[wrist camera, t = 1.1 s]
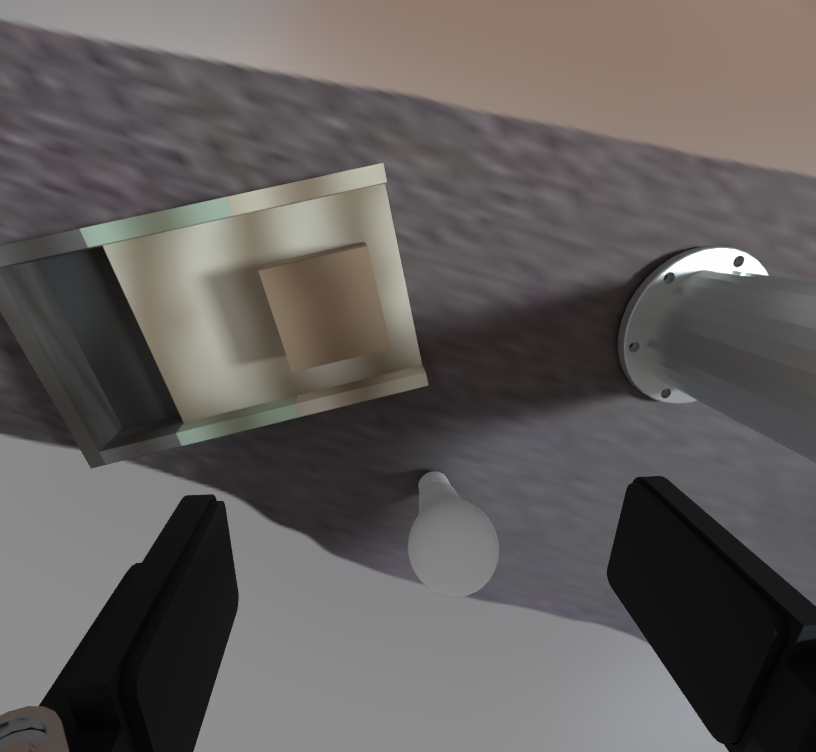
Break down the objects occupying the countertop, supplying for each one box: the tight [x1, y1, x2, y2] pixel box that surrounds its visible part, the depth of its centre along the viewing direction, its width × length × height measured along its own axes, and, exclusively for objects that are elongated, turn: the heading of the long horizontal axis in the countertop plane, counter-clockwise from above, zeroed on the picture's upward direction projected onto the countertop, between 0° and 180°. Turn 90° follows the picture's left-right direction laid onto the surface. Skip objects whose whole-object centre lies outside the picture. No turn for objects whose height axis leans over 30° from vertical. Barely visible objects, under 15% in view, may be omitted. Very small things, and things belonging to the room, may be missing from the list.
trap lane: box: [0, 163, 429, 468], centre depth 28 cm, size 23×14×4 cm, turn 102°
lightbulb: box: [408, 471, 499, 597], centre depth 31 cm, size 6×6×11 cm
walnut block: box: [258, 242, 391, 372], centre depth 26 cm, size 6×6×4 cm
